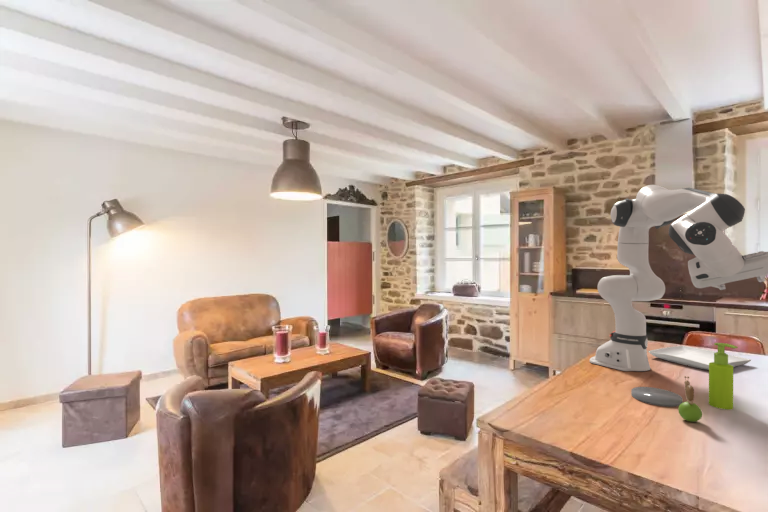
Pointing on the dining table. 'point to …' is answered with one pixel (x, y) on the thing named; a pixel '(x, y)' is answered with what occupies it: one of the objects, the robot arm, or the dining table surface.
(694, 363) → the square plate
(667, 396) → the slate coaster
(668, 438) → the dining table surface
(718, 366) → the soap dispenser
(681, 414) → the snail figurine
